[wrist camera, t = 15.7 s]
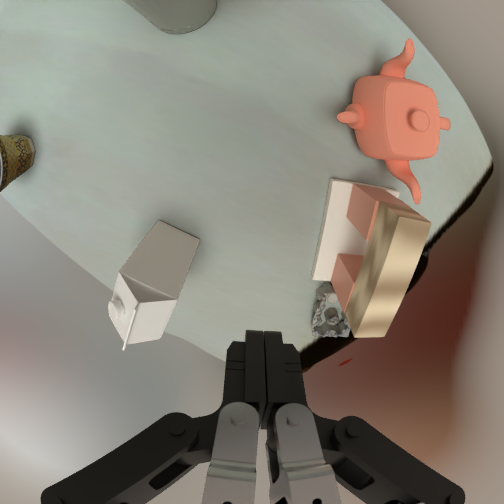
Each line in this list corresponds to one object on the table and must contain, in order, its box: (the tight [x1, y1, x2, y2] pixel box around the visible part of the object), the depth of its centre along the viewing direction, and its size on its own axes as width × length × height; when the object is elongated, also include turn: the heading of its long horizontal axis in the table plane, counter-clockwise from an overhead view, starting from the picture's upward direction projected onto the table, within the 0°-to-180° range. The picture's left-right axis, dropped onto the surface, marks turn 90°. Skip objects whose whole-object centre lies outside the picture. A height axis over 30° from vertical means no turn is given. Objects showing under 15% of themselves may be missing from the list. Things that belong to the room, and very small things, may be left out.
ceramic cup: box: [0, 135, 35, 192], centre depth 29 cm, size 13×10×10 cm
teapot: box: [337, 39, 450, 204], centre depth 27 cm, size 14×14×11 cm
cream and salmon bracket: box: [311, 178, 410, 313], centre depth 36 cm, size 16×11×10 cm
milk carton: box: [108, 220, 200, 351], centre depth 33 cm, size 7×7×19 cm
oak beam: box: [345, 201, 431, 337], centre depth 30 cm, size 16×4×5 cm, turn 174°
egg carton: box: [312, 282, 351, 337], centre depth 46 cm, size 11×8×4 cm
